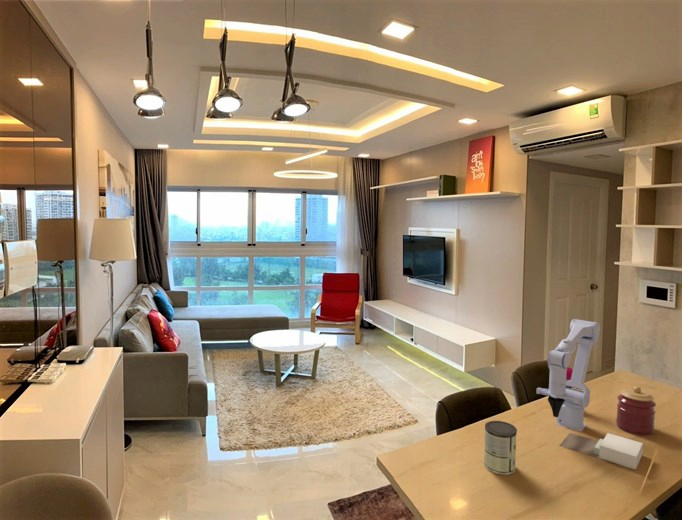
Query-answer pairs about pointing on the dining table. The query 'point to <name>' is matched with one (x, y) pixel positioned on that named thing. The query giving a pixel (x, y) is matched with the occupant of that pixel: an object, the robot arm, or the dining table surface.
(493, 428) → the coffee can
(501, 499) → the dining table surface
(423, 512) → the dining table surface
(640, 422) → the canister
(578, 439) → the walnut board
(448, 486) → the dining table surface
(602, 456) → the white rounded block
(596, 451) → the sage tile
